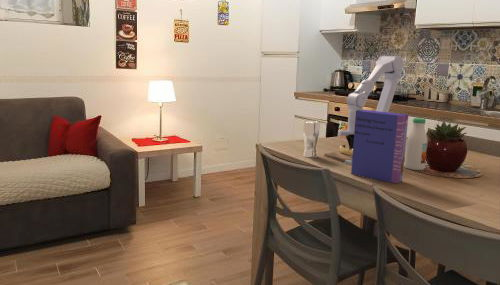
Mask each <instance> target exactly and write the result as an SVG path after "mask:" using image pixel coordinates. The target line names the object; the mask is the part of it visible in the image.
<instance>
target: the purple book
mask: <svg viewBox="0 0 500 285" xmlns="http://www.w3.org/2000/svg"><path fill="white" fill-rule="evenodd" d="M409 117H410V115H409V114H406V113H405V114H404V113H396V112H379V111H376V110H371V109H370V110H368V109H363V110H356V117H355V130H354V143H353V156H352V165H351V170H350V171H351V172H350V175H352V174H356V175H355V176H357V175H360V176H359V177H362V176H364V177H363V178H366V177H368V178H367V179H370V180H371V179H372V180H376V181H381V182H384V183H386V182H387V183H391V184H395V185H396V184H397V185H398V184H399V183H401V182H403V176H404V175H403V173H404V162H405V152H406V143H407V137H408V135H407V133H408V123H409Z"/></svg>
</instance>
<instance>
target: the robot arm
mask: <svg viewBox="0 0 500 285" xmlns="http://www.w3.org/2000/svg"><path fill="white" fill-rule="evenodd" d="M403 68H404V60H403V58H402V56H399V55H398V56H397V55H394V56H392V55H391V56H389V55H380V56H379V58H378V59H377V60H376V61H375V66H374V69H373V70H372V72H370V75H369V76H368V78H367V79H363V80H362V81H361V82H360V84H359V85H358V86H357V87H356V89H355V90H354V91H353V92H351V93H349V94H348V96H347V97H346V100H345V101H346V104H347V109H348V114H347V115H348V117H347V118H348V119H347V129H346V130H337V136H339V137H344V136H345V139H346V141H347V143H348V148H351V149H353V143H354V130H355V117H356V110H364V108H363V107H364V106H365V105H366V104H367V101H368V97H369V95H370V94H371V93H372V91H373V90H374V88H375V84H376V82H377V81H378V80H379V79H380V78H381V77H382V76H384V77H385V81H384V84H383V87H382V90H381V93H380V97H379V100H378V103H377V106H376V109H375V111H379V112H389V111H390V108H391V105H392V102H393V99H394V96H395V92H396V89H397V86H398V83H399V79H400V77H401V74H402V71H403ZM389 113H390V112H389Z"/></svg>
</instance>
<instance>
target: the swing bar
mask: <svg viewBox="0 0 500 285" xmlns="http://www.w3.org/2000/svg"><path fill="white" fill-rule="evenodd" d="M338 152H341V153H344V154H347V155H351V156H353V149H351V148H349V146H348V147H347V146H346V144H341V145H339V151H338Z"/></svg>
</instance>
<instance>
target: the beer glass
mask: <svg viewBox="0 0 500 285" xmlns="http://www.w3.org/2000/svg"><path fill="white" fill-rule="evenodd" d="M320 134H321V122H320V121H317V120H305V121H304V124H303V142H304V151H303V157H305V158H317V157H318V144H319V141H320V140H319V139H320Z"/></svg>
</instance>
